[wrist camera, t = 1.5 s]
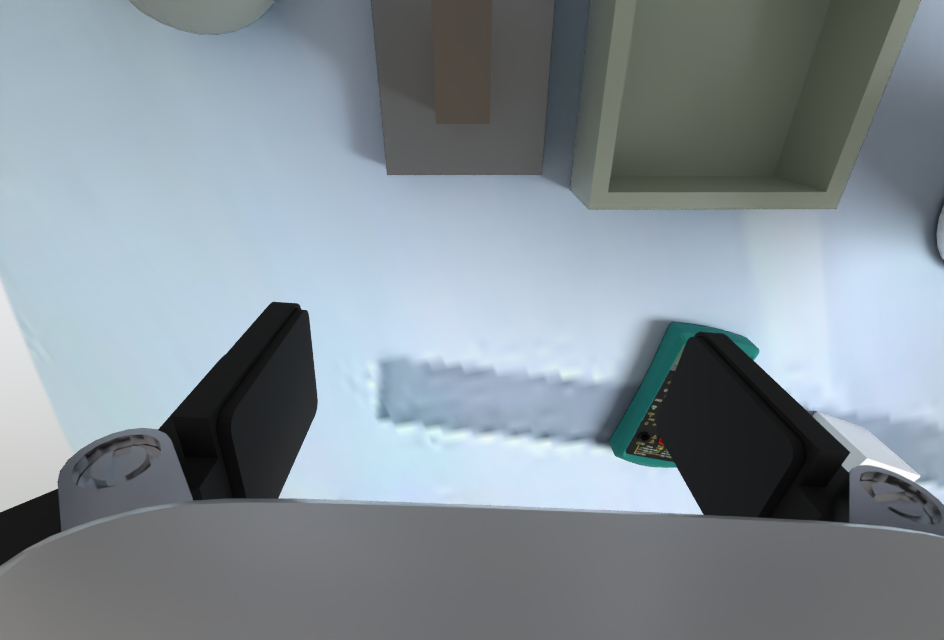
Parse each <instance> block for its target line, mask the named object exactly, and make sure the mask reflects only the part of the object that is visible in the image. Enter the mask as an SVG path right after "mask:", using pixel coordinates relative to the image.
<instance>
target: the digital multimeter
mask: <svg viewBox="0 0 944 640" xmlns="http://www.w3.org/2000/svg"><path fill="white" fill-rule="evenodd" d="M698 332H712V333H724V334H725V335H727V336H728V337H729V338H730V339H731V340H732V341H733V342H734V343H735V344H736V345H737V346H738V347H740V348H741V349H742V350H743V351H744V352H745V353H746V354H747V355H748V356H749V357H750V358H751V359H752V360H753V361H754V359H755V358H756V357H757V355H758V354H759V349H758V348H757V347H756V346H755V345H754V344H753V343H752V342H751V341H750V340H748V339H747V338H746V337H743V336H740V335H737V334H734V333H731V332H727V331H723V330H720V329H715V328H711V327H706V326H700V325H693V324H685V323H672V324H670V326H669V327H668V329H667V331H666V334H665V336H664V338H663V340H662V342H661V344H660V347H659V349H658V351H657V353H656V355H655V358H654V360H653V362H652V364H651V366H650V368H649V370H648V372H647V374H646V376H645V378H644V380H643V382H642V384H641V386H640V388H639V390H638V392H637V394H636V395H635V397H634V399H633V401H632V402H631V404H630V406H629V408H628V409H627V411H626V413H625V415H624V417H623V418H622V420H621V422H620V424H619V425H618V427H617V428H616V430H615V432H614V433H613V435H612V437H611V438H610V441H609V442H610V444H611V447H612V450H613V452H614V455H615V456H616V457H619V458H621V459H624V460H626V461H629V462H632V463H635V464H639V465H644V466H649V467H664V468H669V467H677V466H676V465H675V463H674V461H673V459H672V458H671V456H670V454H669V452H668V450H667V449H666V447H665V445H664V443H663V442H662V440H661V438H660V436H659V434H658V432H657V429H656V420H657V417H658V414H659V411H660V409H661V406H662V404H663V401H664V399H665V396H666V393H667V391H668V388H669V386H670V383H671V380H672V378H673V375H674V373H675V370H676V367H677V365H678V362H679V360H680V357H681V354H682V352H683V349H684V347H685V344H686V342H687V340H688V339H689V338H690V337H694V335H695V334H696V333H698ZM667 374H668V375H667ZM666 376H667V377H666ZM663 381H664V382H663ZM662 383H663V384H662ZM661 385H662V386H661ZM658 390H659V391H658ZM657 392H658V393H657ZM656 394H657V395H656ZM653 399H654V400H653ZM652 401H653V402H652ZM651 403H652V404H651ZM648 408H649V409H648ZM647 410H648V411H647ZM646 412H647V413H646ZM642 419H643V420H642ZM635 432H636V433H635ZM631 439H632V440H631ZM630 441H631V442H630Z"/></svg>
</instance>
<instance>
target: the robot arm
mask: <svg viewBox="0 0 944 640" xmlns="http://www.w3.org/2000/svg"><path fill="white" fill-rule="evenodd" d="M937 246H938V249H939V252H940V255H941V257H942V259H943V260H944V206H943V209H942V211H941V214H940V217H939V221H938V227H937ZM317 403H318V400H317V389H316V380H315V370H314V360H313V351H312V341H311V331H310V322H309V314H308V311H307V310H301V308H300V305H299V304H296V303H282V302H272V303H270V305H269V306H268V307H267V308H266V309H265V310H264V311H263V313H262V314H261V315H260V316H259V317H258V318H257V319H256V321H255V322H254V323H253V324H252V325H251V326H250V327H249V329H248V330H247V331H246V332H245V333H244V334H243V335H242V337H241V338H240V339H239V340H238V341H237V342H236V343H235V345H234V346H233V347H232V348H231V349H230V350H229V351H228V353H227V354H226V355H224V356H223V357H222V358H221V359H220V360H219V361H218V362H217V363H216V365H215V366H214V367H213V368H212V369H211V370H210V371H209V373H208V374H207V375H206V376H205V377H204V378H203V379H202V380H201V382H200V383H199V384H198V385H197V386H196V387H195V388H194V390H193V391H192V392H191V393H190V394H189V395H188V396H187V398H186V399H185V400H184V401H183V402H182V403H181V404H180V405H179V407H178V408H177V409H176V410H175V411H174V412H173V413H172V415H171V416H170V417H169V418H168V419H167V420H166V421H165V423H164V424H163V425H162V426H161V427H160V428H159V429H158V430H157V429H148V428H138V429H128V430H124V431H121V432H117V433H113V434H110V435H108V436H105V437H103V438H100V439H98V440H96V441H94V442H92V443H90V444H89V445H87V446H85V447H84V448H82V449H80V450H79V451H78V452H77V453H76V454H74V455H73V456H72V457H71V458H70V459H69V460H68V461H67V462H66V464H65V465H64V466H63V468H62V469H61V470H60V473H59V478H58V489H56V490H54V491H51V492H49V493H46V494H44V495H42V496H39V497H37V498H34V499H32V500H30V501H27V502H25V503H22V504H20V505H18V506H15V507H13V508H10V509H8V510H5V511H3V512H1V513H0V640H944V505H943V504H942V503H941V502H940V500H938V499H937V498H936V497H935V496H933V495H932V494H931V493H930V492H928V491H927V490H926V489H924V488H923V487H921V486H919V485H918V484H916V483H915V482H913V481H911V480H909V479H907V478H905V477H903V476H901V475H899V474H897V473H895V472H892V471H889V470H886V469H884V468H880V467H875V466H870V465H858V466H856V467H854V468H852V469H851V470H850V472H848V471H847V470H846V469H845V468H844V467H843V466H842V464H843V462H844V461H845V459H846V458H847V457H848V455H849V454H850V451H848V450H847V449H846V448H845V447H844V446H843V445H842V444H841V443H840V442H839V441H838V440H837V439H836V438H835V437H834V436H833V435H832V434H830V433H829V432H828V431H827V430H826V429H825V428H824V427H823V426H822V425H821V424H820V423H819V422H818V421H817V420H816V419H815V418H814V417H813V416H811V415H810V414H809V413H808V412H807V411H806V410H805V409H804V408H803V407H802V406H801V405H800V404H799V403H798V402H797V401H796V400H795V399H793V398H792V397H791V396H790V395H789V394H788V393H787V392H786V391H785V390H784V389H783V388H782V387H781V386H780V385H779V384H778V383H777V382H775V381H774V380H773V379H772V378H771V377H770V376H769V375H768V374H767V373H766V372H765V371H764V370H763V369H762V368H761V367H760V366H759V365H757V364H756V363H755V362H754V361H753V360H752V359H751V358H750V357H749V356H748V355H747V354H746V353H745V352H744V351H743V350H742V349H741V348H740V347H738V346H737V345H736V344H735V343H734V342H733V341H732V340H731V339H730V338H729V337H728V336H727V335H725V334H724V333H712V332H698V333H696V334H695V335H694V337H690V338H689V339H688V340H687V342H686V344H685V347H684V349H683V352H682V354H681V357H680V360H679V362H678V365H677V367H676V370H675V373H674V375H673V378H672V380H671V383H670V386H669V388H668V391H667V393H666V396H665V399H664V401H663V404H662V406H661V409H660V411H659V414H658V417H657V420H656V429H657V432H658V434H659V436H660V438H661V440H662V442H663V443H664V445H665V447H666V449H667V450H668V452H669V454H670V456H671V458H672V459H673V461H674V463H675V465H676V466H677V468H678V470H679V472H680V474H681V475H682V477H683V479H684V481H685V482H686V484H687V486H688V488H689V490H690V491H691V493H692V495H693V497H694V498H695V500H696V502H697V504H698V506H699V507H700V509H701V511H702V513H703V514H704V515H696V514H675V513H654V512H633V511H610V510H587V509H564V508H540V507H516V506H492V505H466V504H438V503H411V502H384V501H357V500H326V499H278V497H279V495H280V493H281V491H282V488H283V486H284V484H285V482H286V479H287V477H288V475H289V473H290V470H291V468H292V466H293V464H294V461H295V459H296V457H297V455H298V452H299V450H300V448H301V446H302V443H303V441H304V439H305V437H306V434H307V432H308V430H309V428H310V425H311V423H312V421H313V419H314V416H315V414H316V410H317Z"/></svg>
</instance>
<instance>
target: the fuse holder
mask: <svg viewBox="0 0 944 640" xmlns="http://www.w3.org/2000/svg"><path fill="white" fill-rule="evenodd" d="M371 5H372V16H373V27H374V38H375V49H376V60H377V71H378V82H379V92H380V103H381V114H382V125H383V136H384V147H385V158H386V169H387V175H542V166H543V153H544V139H545V126H546V113H547V99H548V86H549V72H550V59H551V46H552V32H553V19H554V6H555V0H492V31H491V87H490V124H436V112H435V85H434V58H433V31H432V4H431V0H371Z"/></svg>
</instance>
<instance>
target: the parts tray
mask: <svg viewBox="0 0 944 640" xmlns="http://www.w3.org/2000/svg"><path fill="white" fill-rule="evenodd" d="M920 1H921V0H590V6H589V15H588V24H587V34H586V43H585V53H584V62H583V71H582V81H581V90H580V100H579V109H578V118H577V128H576V137H575V146H574V156H573V165H572V175H571V184H570V191H571V192H572V193H573V194H574V195H575V196H576V197H577V198H578V199H579V200H580V201H581V202H582V203H583V204H584V205H585V206H586V207H587V208H588V209H836V208H837V206H838V203H839V201H840V198H841V196H842V193H843V191H844V188H845V186H846V183H847V181H848V179H849V176H850V174H851V171H852V169H853V166H854V164H855V161H856V159H857V156H858V154H859V151H860V149H861V147H862V144H863V142H864V139H865V137H866V134H867V132H868V129H869V127H870V124H871V122H872V119H873V117H874V115H875V112H876V110H877V107H878V105H879V102H880V100H881V97H882V95H883V92H884V90H885V87H886V85H887V83H888V80H889V78H890V75H891V73H892V70H893V68H894V65H895V63H896V60H897V58H898V55H899V53H900V50H901V48H902V46H903V43H904V41H905V38H906V36H907V33H908V31H909V28H910V26H911V23H912V21H913V18H914V16H915V14H916V11H917V9H918V6H919V4H920Z"/></svg>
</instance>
